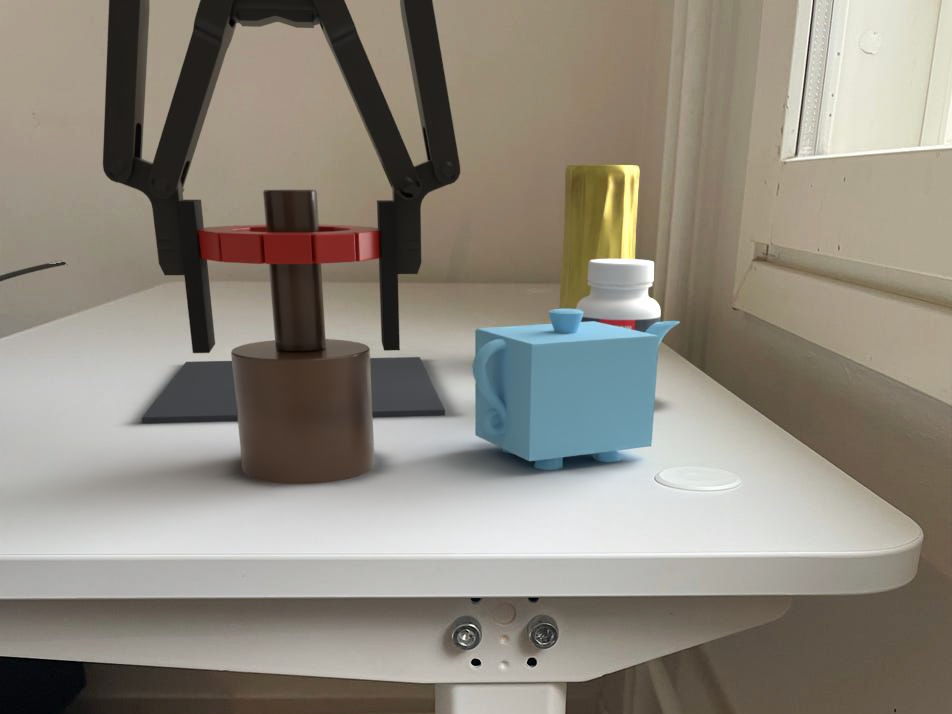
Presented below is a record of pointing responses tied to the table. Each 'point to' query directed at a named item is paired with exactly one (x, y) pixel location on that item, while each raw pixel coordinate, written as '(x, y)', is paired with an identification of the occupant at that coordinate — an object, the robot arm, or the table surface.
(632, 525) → the table surface
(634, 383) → the teapot
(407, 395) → the mat
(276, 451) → the ring holder
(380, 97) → the robot arm
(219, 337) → the table surface
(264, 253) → the ring
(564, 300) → the vase
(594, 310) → the pill bottle
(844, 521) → the table surface
